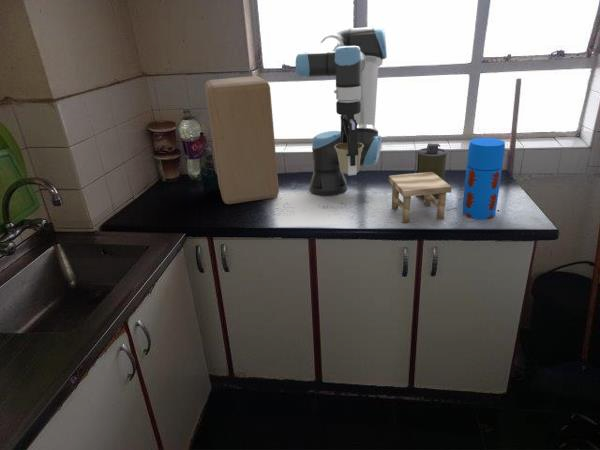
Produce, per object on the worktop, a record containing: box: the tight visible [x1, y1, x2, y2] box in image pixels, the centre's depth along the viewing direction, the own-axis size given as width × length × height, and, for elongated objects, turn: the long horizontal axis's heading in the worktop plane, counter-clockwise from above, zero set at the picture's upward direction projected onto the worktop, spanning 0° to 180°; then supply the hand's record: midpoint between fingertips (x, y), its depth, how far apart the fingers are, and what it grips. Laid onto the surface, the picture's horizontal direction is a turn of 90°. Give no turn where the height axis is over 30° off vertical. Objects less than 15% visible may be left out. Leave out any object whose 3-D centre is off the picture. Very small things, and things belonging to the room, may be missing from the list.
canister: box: [414, 142, 448, 201], centre depth 164 cm, size 11×10×20 cm
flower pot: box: [334, 143, 364, 175], centre depth 143 cm, size 9×9×9 cm
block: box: [204, 75, 280, 205], centre depth 173 cm, size 22×22×45 cm
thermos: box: [461, 137, 506, 221], centre depth 146 cm, size 11×11×25 cm
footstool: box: [388, 172, 452, 224], centre depth 151 cm, size 16×16×12 cm
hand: (349, 170), depth 145 cm, fingers closed on flower pot, 8 cm apart
